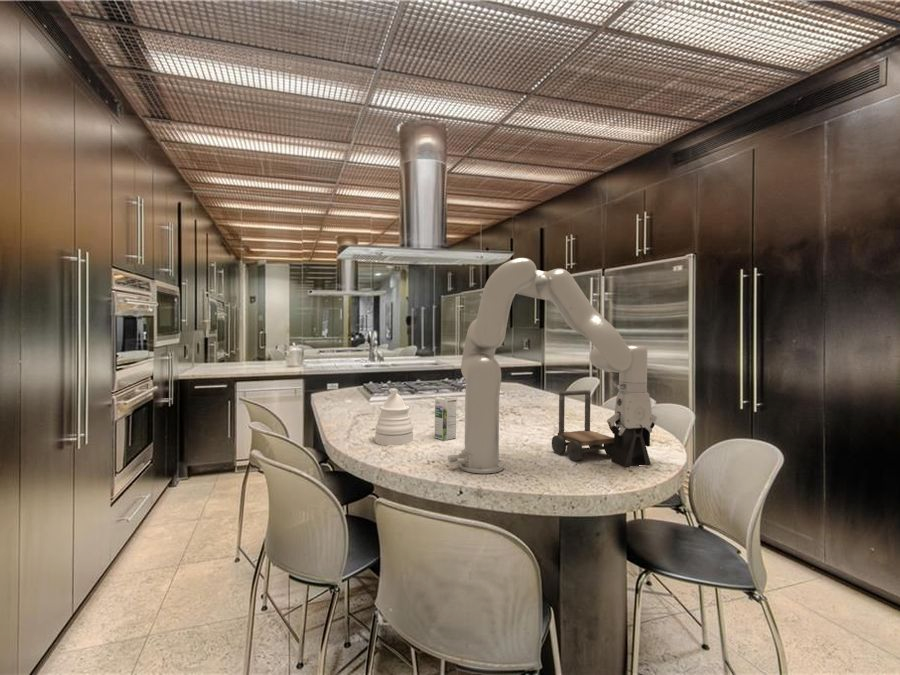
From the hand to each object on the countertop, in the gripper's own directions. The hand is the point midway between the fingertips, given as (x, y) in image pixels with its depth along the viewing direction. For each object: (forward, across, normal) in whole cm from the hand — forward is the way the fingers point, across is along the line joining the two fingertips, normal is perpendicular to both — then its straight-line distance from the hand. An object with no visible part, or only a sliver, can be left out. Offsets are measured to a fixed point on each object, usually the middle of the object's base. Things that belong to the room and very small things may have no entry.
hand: (632, 446), depth 134 cm
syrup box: (+5, -40, +47) cm, 62 cm away
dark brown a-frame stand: (+5, 0, 0) cm, 5 cm away
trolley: (+5, -7, +12) cm, 15 cm away
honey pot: (+5, -58, +49) cm, 76 cm away
